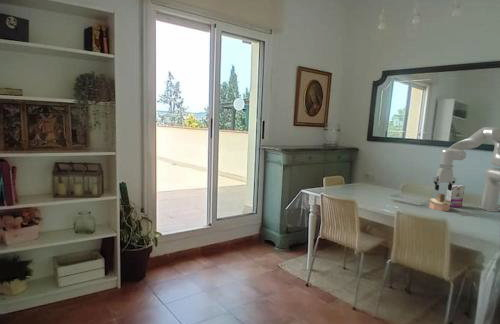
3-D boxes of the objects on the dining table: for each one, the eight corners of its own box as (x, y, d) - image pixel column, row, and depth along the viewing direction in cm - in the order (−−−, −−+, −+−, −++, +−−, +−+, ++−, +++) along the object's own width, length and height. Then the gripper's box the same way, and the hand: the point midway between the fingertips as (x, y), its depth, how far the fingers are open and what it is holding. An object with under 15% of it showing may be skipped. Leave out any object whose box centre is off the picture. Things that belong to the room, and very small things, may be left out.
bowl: (441, 206, 240) (442, 200, 239) (452, 211, 228) (453, 204, 228) (426, 206, 239) (427, 199, 239) (436, 211, 228) (437, 204, 227)
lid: (443, 199, 241) (444, 192, 240) (456, 205, 227) (457, 197, 226) (425, 199, 240) (426, 191, 239) (437, 204, 226) (438, 196, 225)
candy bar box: (456, 205, 246) (459, 184, 244) (461, 207, 242) (465, 186, 239) (444, 205, 243) (447, 184, 241) (450, 207, 239) (453, 186, 236)
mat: (466, 212, 230) (466, 211, 230) (477, 217, 219) (478, 216, 219) (451, 211, 229) (451, 210, 229) (462, 216, 218) (462, 215, 218)
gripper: (453, 165, 233) (451, 188, 236) (430, 165, 232) (428, 188, 235) (461, 167, 226) (458, 191, 229) (437, 167, 225) (435, 191, 228)
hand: (443, 190), depth 232 cm, fingers open, 9 cm apart
